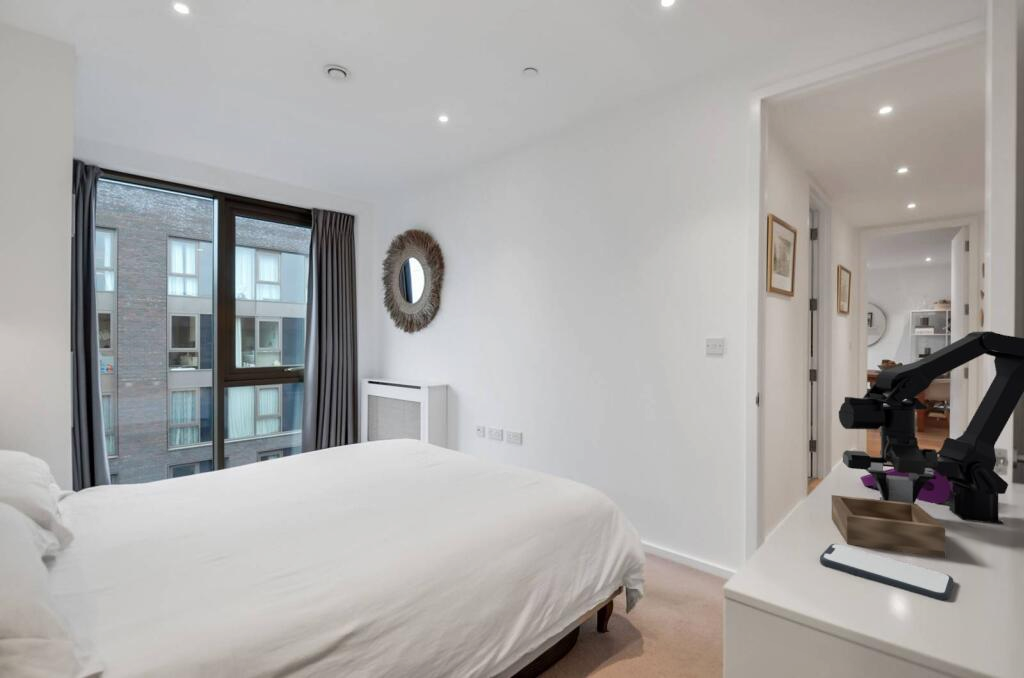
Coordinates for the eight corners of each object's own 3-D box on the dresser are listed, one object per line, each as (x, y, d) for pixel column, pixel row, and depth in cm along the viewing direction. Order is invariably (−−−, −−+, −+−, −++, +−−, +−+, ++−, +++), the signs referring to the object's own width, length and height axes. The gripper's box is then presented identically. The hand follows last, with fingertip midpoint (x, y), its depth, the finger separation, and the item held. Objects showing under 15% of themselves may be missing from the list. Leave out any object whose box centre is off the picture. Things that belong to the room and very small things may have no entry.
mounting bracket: (871, 514, 119) (958, 500, 106) (853, 479, 122) (936, 461, 109) (886, 506, 124) (971, 492, 111) (869, 473, 127) (949, 455, 114)
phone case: (954, 585, 74) (832, 550, 86) (954, 575, 74) (832, 541, 86) (947, 608, 68) (817, 567, 80) (947, 596, 68) (817, 557, 80)
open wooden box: (916, 529, 94) (916, 503, 94) (945, 557, 82) (945, 527, 82) (831, 519, 100) (831, 495, 100) (847, 544, 88) (847, 516, 88)
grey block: (901, 504, 106) (901, 472, 106) (912, 514, 100) (912, 480, 100) (879, 502, 108) (879, 470, 108) (889, 512, 102) (888, 478, 102)
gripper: (854, 433, 99) (855, 510, 99) (973, 440, 91) (973, 523, 91) (841, 424, 109) (842, 494, 109) (947, 430, 102) (948, 504, 102)
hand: (898, 503), depth 102 cm, fingers closed on grey block, 4 cm apart
